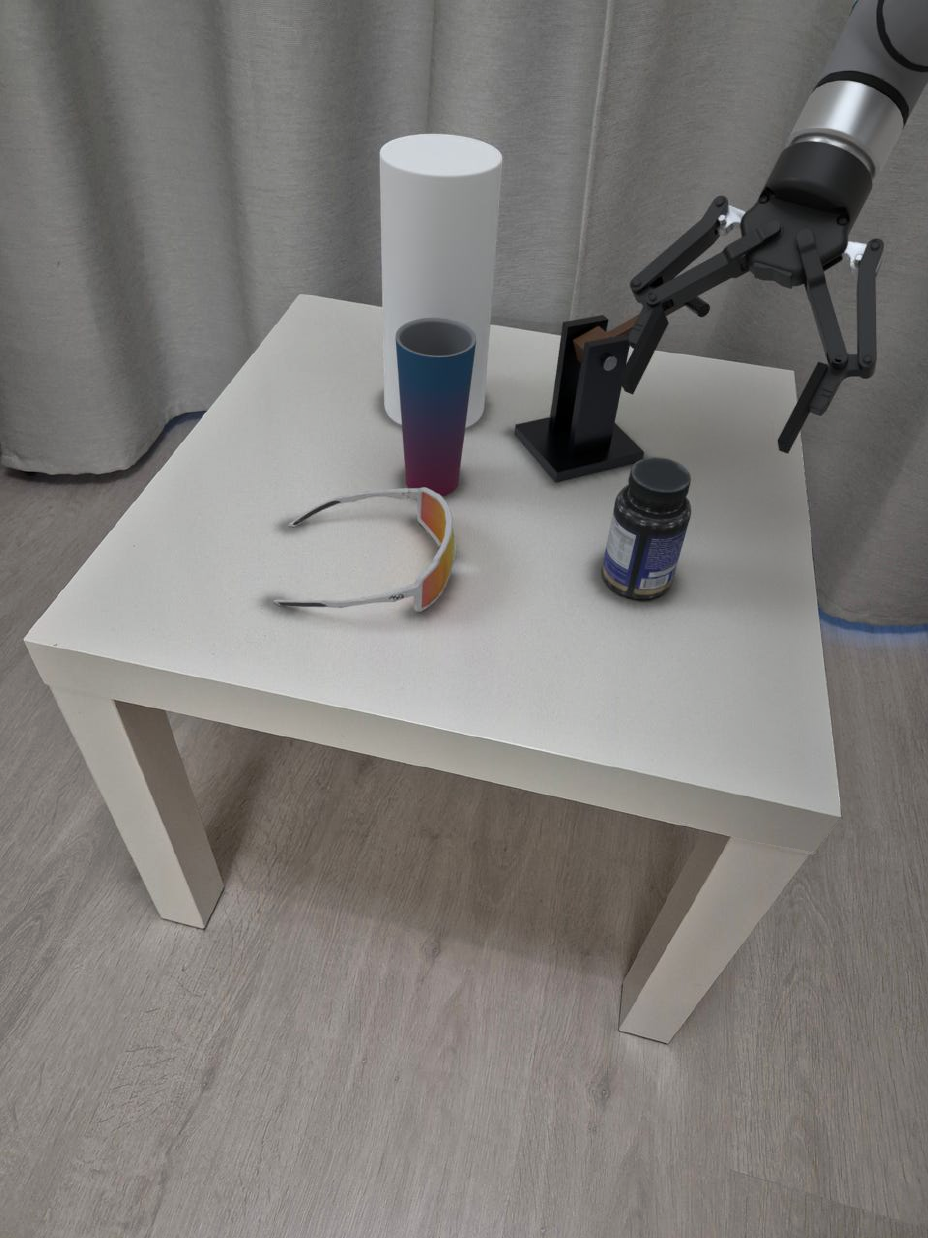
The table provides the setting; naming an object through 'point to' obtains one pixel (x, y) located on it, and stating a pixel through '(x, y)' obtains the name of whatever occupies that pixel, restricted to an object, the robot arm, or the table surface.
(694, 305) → the lever
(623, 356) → the bracket
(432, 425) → the cup
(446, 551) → the sunglasses
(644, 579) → the pill bottle
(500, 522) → the table surface
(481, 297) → the tall pillar cylinder
